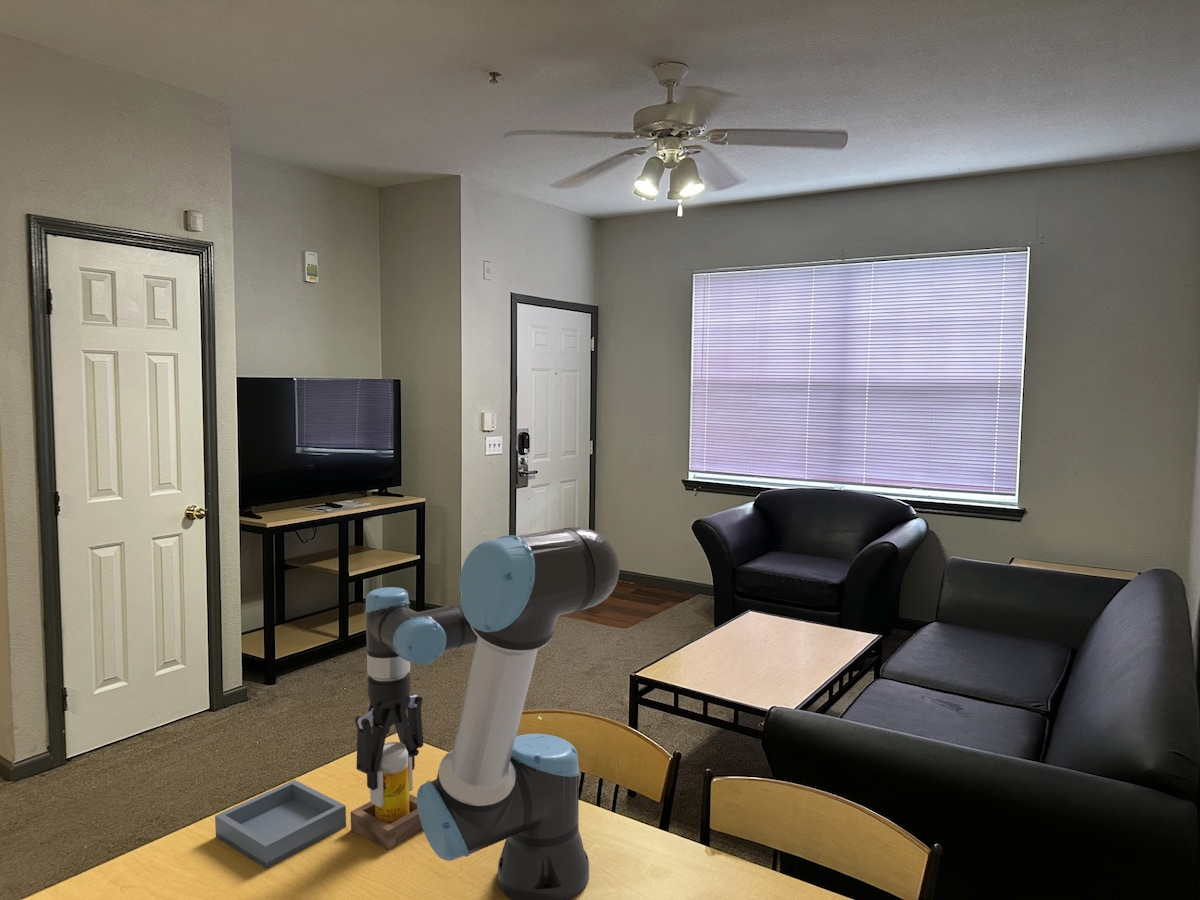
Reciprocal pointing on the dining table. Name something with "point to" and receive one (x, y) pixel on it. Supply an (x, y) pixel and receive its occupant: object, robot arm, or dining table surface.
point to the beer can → (394, 783)
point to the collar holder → (386, 825)
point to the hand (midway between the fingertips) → (392, 795)
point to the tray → (280, 823)
